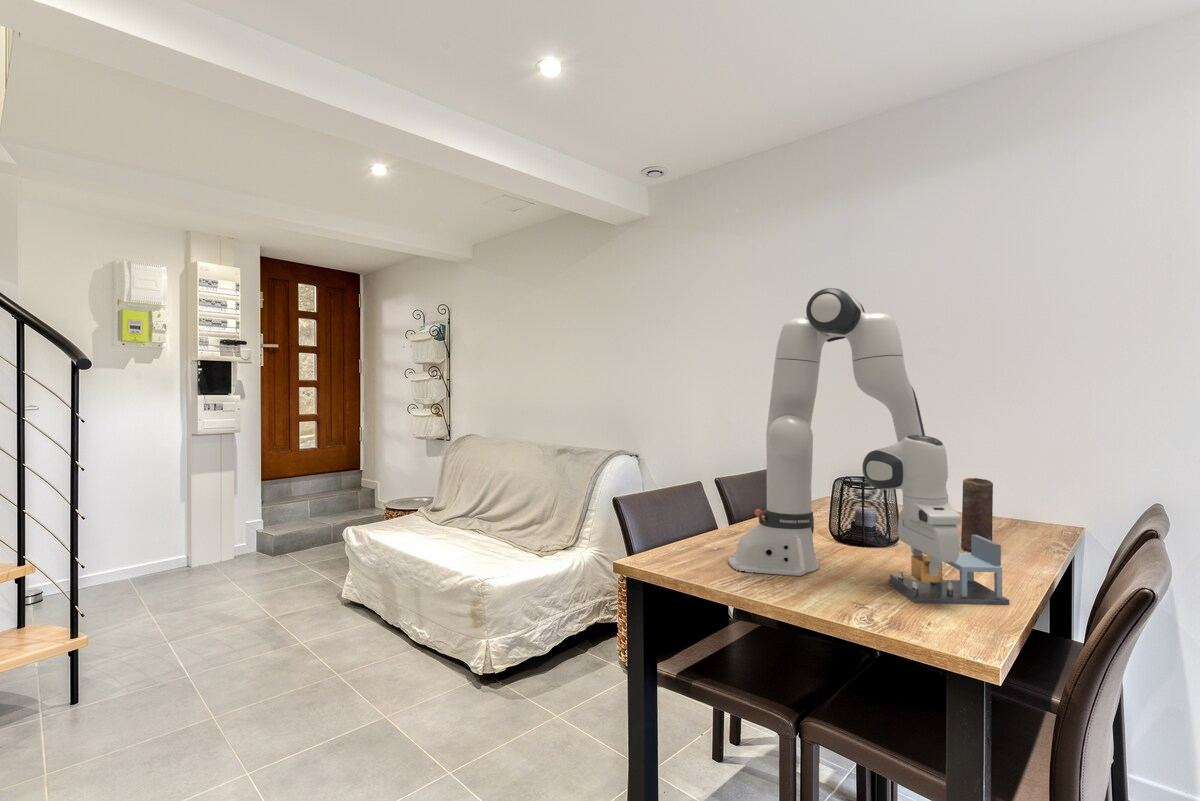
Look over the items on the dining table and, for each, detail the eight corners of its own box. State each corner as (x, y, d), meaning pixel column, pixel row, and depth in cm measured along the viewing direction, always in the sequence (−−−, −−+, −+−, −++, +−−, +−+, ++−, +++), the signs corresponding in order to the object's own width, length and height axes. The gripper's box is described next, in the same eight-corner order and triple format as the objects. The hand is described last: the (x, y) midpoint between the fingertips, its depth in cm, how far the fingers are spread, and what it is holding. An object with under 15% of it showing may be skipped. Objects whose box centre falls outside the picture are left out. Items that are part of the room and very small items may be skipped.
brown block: (942, 581, 127) (942, 561, 127) (921, 581, 127) (920, 561, 127) (932, 575, 131) (931, 555, 131) (911, 575, 132) (911, 555, 132)
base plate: (914, 602, 123) (914, 586, 123) (888, 583, 136) (888, 568, 136) (1009, 604, 121) (1009, 587, 121) (974, 584, 134) (974, 569, 134)
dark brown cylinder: (992, 549, 165) (992, 478, 165) (993, 555, 159) (993, 482, 159) (961, 546, 170) (960, 477, 170) (960, 551, 163) (960, 480, 163)
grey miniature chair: (962, 596, 123) (962, 545, 123) (935, 579, 134) (934, 532, 134) (1004, 597, 122) (1004, 546, 122) (973, 580, 134) (973, 533, 134)
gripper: (890, 501, 140) (891, 558, 140) (933, 518, 119) (934, 585, 119) (917, 500, 139) (918, 558, 139) (965, 518, 119) (966, 586, 119)
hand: (926, 571), depth 129 cm, fingers closed on brown block, 4 cm apart
